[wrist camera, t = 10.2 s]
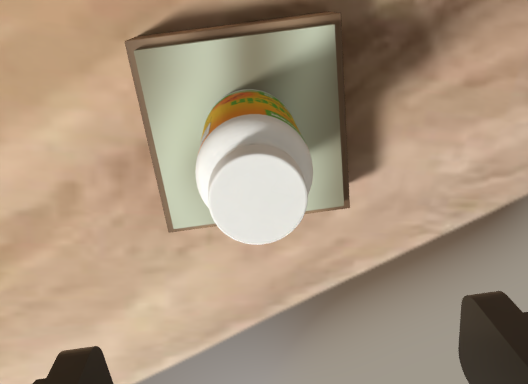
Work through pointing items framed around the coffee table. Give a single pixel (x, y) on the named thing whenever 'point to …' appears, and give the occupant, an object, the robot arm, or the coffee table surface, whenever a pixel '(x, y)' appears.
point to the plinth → (234, 79)
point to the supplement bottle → (253, 167)
